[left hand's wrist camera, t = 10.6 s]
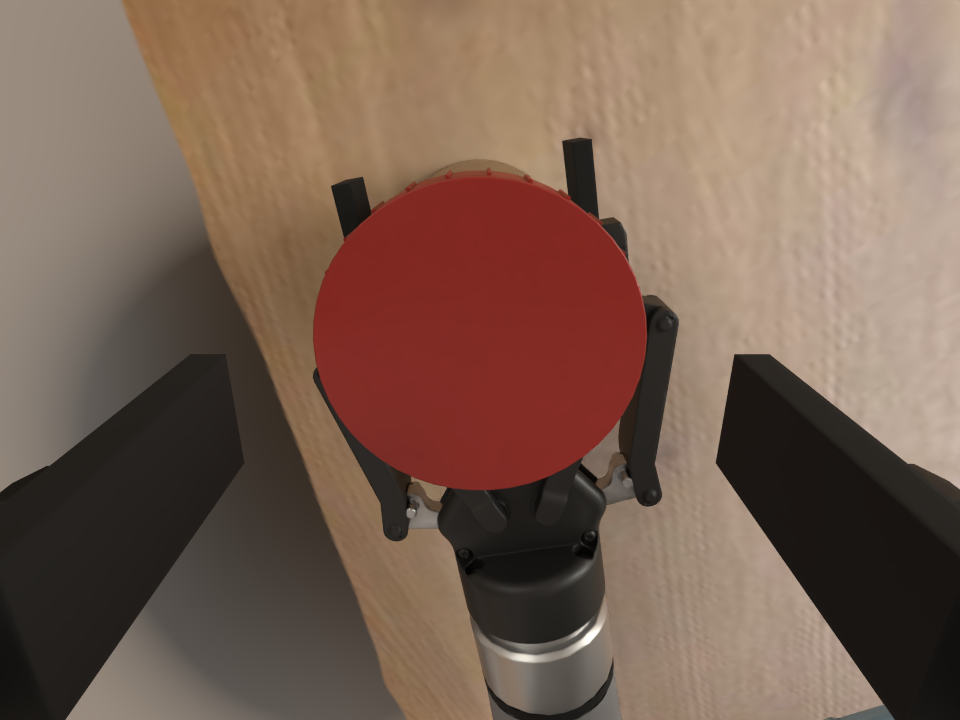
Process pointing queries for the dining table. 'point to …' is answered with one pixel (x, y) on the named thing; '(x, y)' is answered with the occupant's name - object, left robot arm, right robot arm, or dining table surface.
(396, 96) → the dining table surface
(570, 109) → the dining table surface
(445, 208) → the lid
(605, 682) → the right robot arm
